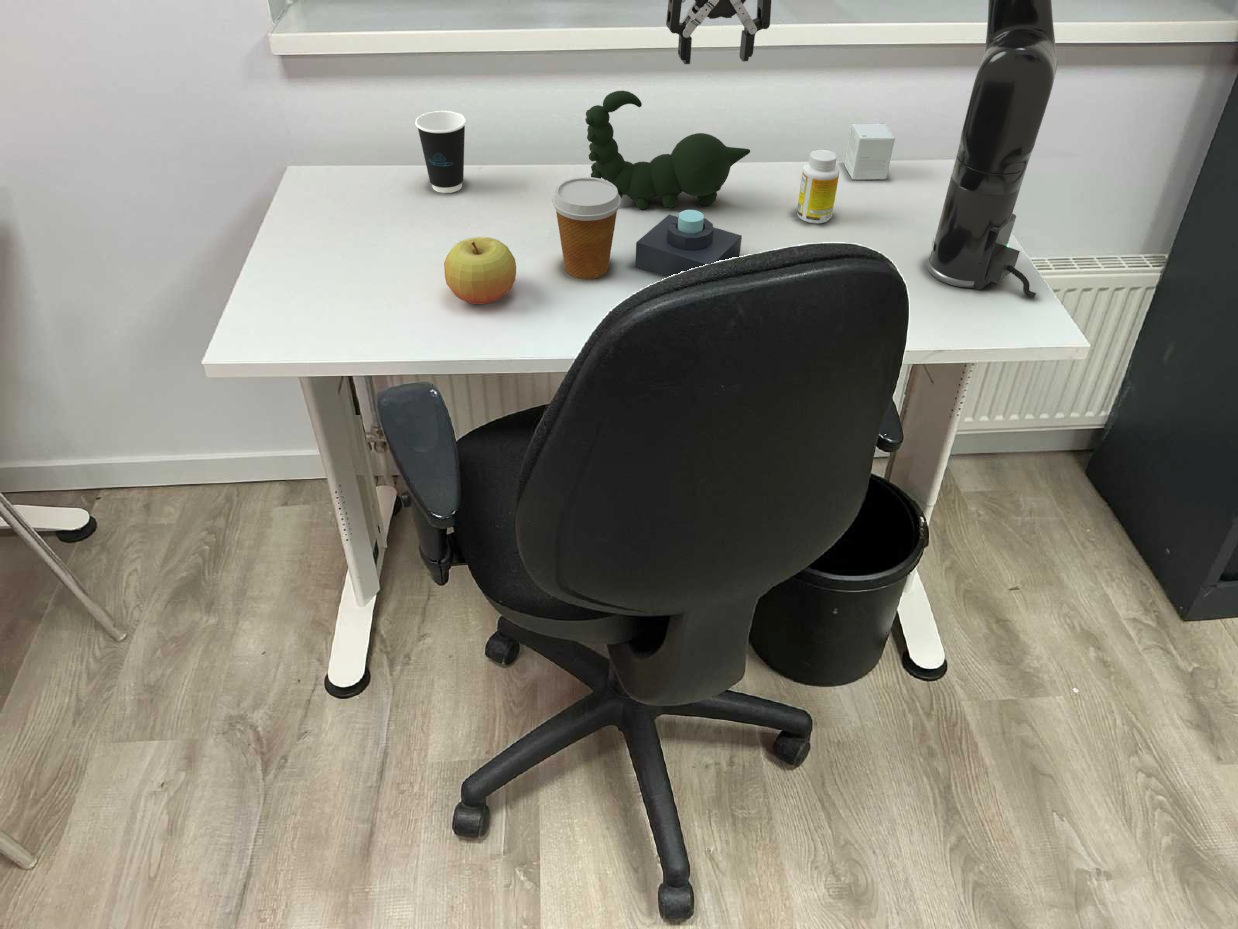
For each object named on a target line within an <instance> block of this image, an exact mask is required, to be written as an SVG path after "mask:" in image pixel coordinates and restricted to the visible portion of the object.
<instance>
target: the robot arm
mask: <svg viewBox="0 0 1238 929" xmlns="http://www.w3.org/2000/svg"><path fill="white" fill-rule="evenodd" d="M686 1H687V0H668V3H667V12H666V19H665V20H666V21H665V25H666V28H668V30H669V31H670V33H671V34H676V35H678V46H677V55H678V58H679V59H680V60H681V62H682V63H683V65H690V64H691V60H692V59H691V56H692V42H693V38H692V36H691V35H692V34H693V33H694V31H695V30H696V29H697V27H698V26H700V25H702V23H703V21H704V20H705V19H706V18H709V19H710V20H715V19H719V18H725V19H732V18H733V16H735V15H736V17H737V19H739V21H740V22H741V24H742V26H743V30H742V29H741V35H740V45H739V59H740V60H741V61H742V62H743V63H744V62H749V59H750V58H752V56H753V55H754V48H755V39H756V34H757V33H758V32H759V31H761V30H768V29H769V28H770V26H771V15H772V14H771V13H772V0H757V2H756V3H757V4H756V17H755V18H753V19H752V17H751V15H750V14H749V12H748V10H747V8H746V7H745V5H744V4H745V3H746V1H747V0H694V2H693V4H692V5H691V6H690V7H689V9H688V11H687V12H686V16H685V17H683V19H682V21H681V12H682V4H684V3H685V2H686ZM987 5H988V6H987V22H986V23H987V24H986V35H985V36H986V37H985V45H984V50H983V57H982V59H981V62H980V64H979V67H978V69H977V72H976V75H975V78H974V81H973V86H972V90H971V94H970V98H969V100H968V101H969V102H968V106H967V108H966V113H965V118H964V121H963V125H962V129H961V133H960V140H959V144H958V148H957V152H956V156H955V160H954V164H953V168H952V172H951V175H950V180H949V183H948V187H947V189H946V190H947V191H946V195H945V198H944V203H943V207H942V209H941V214H940V218H939V220H938V221H939V222H938V226H937V231H936V234H935V236H934V237H933V238H932V242H931V252H930V255H929V257H928V261H927V269H928V272H929V273H930V274H931V275H932V276H933V278H935V279H937V280H938V281H940V282H942V283H945V284H947V285H951V286H955V287H959V288H972V289H976V290H978V291H982V290H983V289H984V288H985V287H986V286H988V284H990V283H991V282H992V283H995V284H997V285H999V284H1001V282H1003V281H1004V280H1005V279H1006V278H1007V277H1008V276H1009V275H1010V274H1012V275H1013V276H1015V277H1016V278H1017V279H1018V280H1019V281H1021V284H1022V291H1023V294H1024V295H1025V296H1026V297H1027V298H1031V299H1034V298H1035V297H1036V295H1037V292H1036V291H1031V290H1030V287H1031V286H1030V281H1029V279H1028V278H1027V276H1026V275H1025V274H1024V273H1023V272H1021V271H1020V270H1018V269H1017V268H1016V264H1017V261H1018V258H1019V255H1020V253H1021V251H1020V250H1018V249H1015V248H1013V247H1010V246H1009V241H1010V238H1011V235H1012V232H1013V229H1014V225H1015V222H1016V219H1017V215H1016V214H1015V213H1014V210H1015V206H1016V204H1017V201H1018V196H1019V194H1020V191H1021V187H1022V184H1023V181H1024V179H1025V176H1026V175H1025V174H1026V171H1027V169H1028V165H1029V162H1030V159H1031V155H1032V153H1033V150H1034V148H1035V145H1036V142H1037V139H1038V135H1039V132H1040V128H1041V126H1042V123H1043V119H1044V116H1045V113H1046V110H1047V106H1048V104H1049V101H1050V98H1051V94H1052V90H1053V86H1054V82H1055V78H1056V74H1057V70H1058V53H1057V46H1056V36H1055V28H1054V18H1053V2H1052V0H987Z"/></svg>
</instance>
